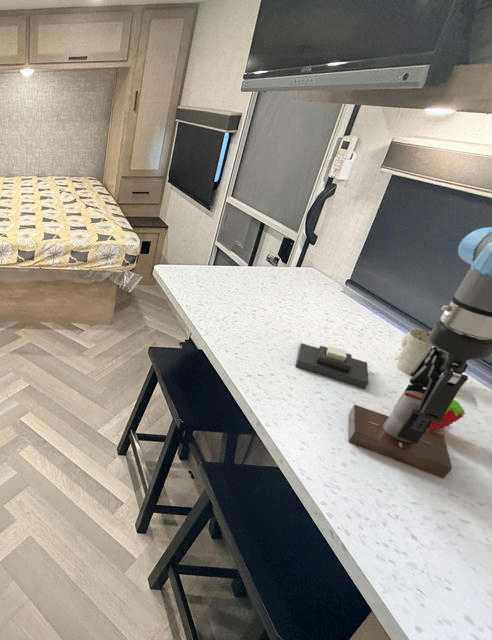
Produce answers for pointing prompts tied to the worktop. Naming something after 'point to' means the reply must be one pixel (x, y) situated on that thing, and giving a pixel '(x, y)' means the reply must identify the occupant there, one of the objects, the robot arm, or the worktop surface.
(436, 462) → the volume box
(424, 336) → the mug
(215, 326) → the worktop surface
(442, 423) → the strawberry
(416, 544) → the worktop surface
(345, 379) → the ridged dark grey block
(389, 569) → the worktop surface
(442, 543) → the worktop surface
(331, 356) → the cream square block
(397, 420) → the volume knob
